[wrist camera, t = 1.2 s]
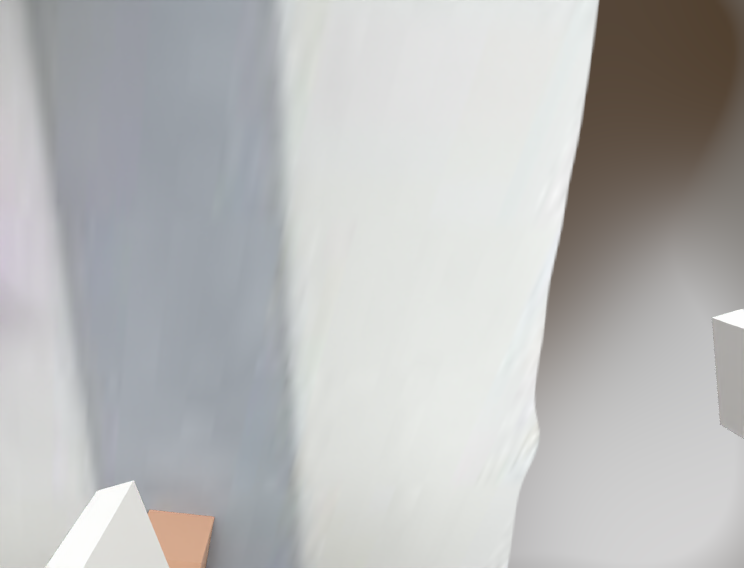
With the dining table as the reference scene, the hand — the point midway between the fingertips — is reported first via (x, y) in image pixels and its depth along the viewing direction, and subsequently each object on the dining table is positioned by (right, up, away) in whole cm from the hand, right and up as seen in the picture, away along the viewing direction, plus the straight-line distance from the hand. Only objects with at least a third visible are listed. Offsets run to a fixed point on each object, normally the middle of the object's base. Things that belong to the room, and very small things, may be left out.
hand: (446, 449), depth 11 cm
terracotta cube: (-17, -17, +29) cm, 38 cm away
